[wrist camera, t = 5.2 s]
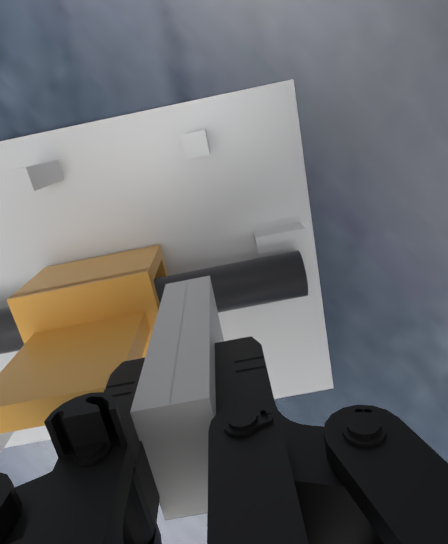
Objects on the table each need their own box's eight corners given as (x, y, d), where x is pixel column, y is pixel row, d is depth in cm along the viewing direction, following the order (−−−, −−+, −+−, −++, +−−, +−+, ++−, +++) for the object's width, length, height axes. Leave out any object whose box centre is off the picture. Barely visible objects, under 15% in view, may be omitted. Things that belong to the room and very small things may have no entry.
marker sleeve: (160, 244, 18) (120, 332, 10) (179, 320, 19) (157, 450, 11) (44, 267, 18) (-77, 370, 10) (71, 341, 19) (-21, 481, 12)
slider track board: (288, 82, 17) (321, 62, 12) (327, 374, 22) (364, 455, 16) (-310, 208, 18) (-524, 243, 13) (-151, 461, 23) (-261, 563, 17)
